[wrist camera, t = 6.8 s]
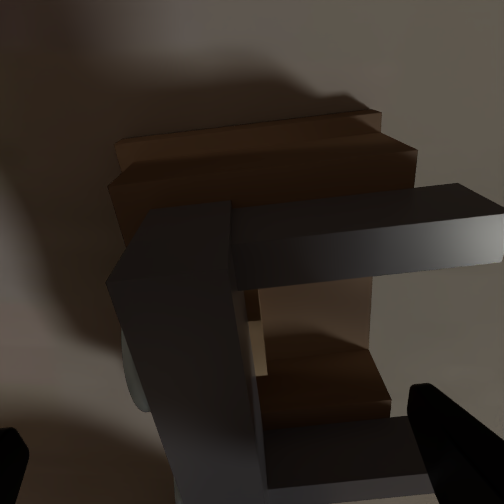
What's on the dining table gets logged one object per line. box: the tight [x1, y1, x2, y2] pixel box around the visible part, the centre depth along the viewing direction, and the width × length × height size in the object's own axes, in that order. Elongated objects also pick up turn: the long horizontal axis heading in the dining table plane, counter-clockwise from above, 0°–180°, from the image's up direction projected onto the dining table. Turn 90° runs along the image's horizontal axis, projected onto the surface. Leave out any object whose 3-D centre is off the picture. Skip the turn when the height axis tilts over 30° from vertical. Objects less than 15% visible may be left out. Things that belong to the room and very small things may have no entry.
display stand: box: [107, 109, 418, 431], centre depth 11 cm, size 11×7×3 cm, turn 6°
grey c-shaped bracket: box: [106, 183, 504, 504], centre depth 9 cm, size 9×7×3 cm
